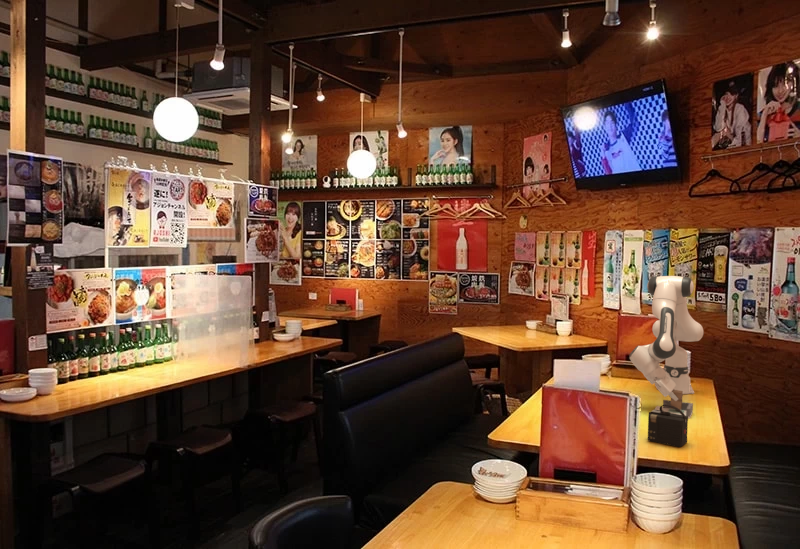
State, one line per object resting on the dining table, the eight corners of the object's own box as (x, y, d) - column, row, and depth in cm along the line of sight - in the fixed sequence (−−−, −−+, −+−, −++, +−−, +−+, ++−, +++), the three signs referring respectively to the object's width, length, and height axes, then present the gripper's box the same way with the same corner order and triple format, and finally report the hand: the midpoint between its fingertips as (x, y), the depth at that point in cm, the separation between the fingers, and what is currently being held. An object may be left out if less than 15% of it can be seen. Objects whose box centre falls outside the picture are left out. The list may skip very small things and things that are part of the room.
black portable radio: (653, 435, 267) (655, 399, 266) (689, 442, 258) (690, 405, 258) (645, 441, 259) (646, 404, 258) (681, 448, 250) (682, 410, 249)
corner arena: (656, 407, 313) (657, 398, 312) (692, 412, 304) (692, 403, 304) (652, 413, 302) (653, 404, 302) (689, 418, 294) (690, 409, 293)
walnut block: (671, 406, 306) (672, 389, 305) (682, 407, 303) (682, 390, 303) (670, 408, 302) (671, 391, 301) (680, 409, 299) (681, 392, 299)
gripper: (658, 375, 296) (680, 399, 292) (665, 368, 314) (685, 390, 309) (648, 384, 299) (669, 407, 294) (655, 376, 316) (675, 398, 312)
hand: (678, 398), depth 302 cm, fingers closed on walnut block, 4 cm apart
